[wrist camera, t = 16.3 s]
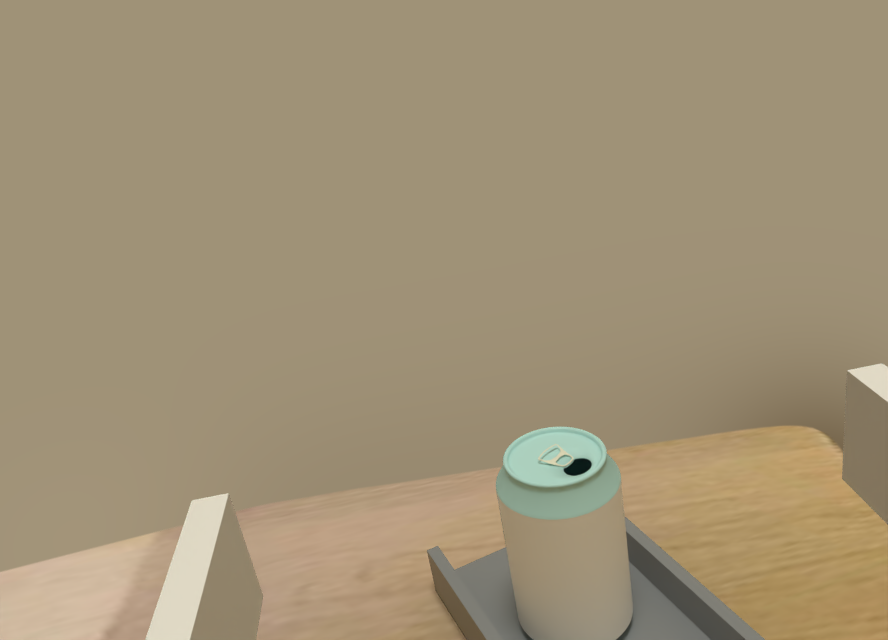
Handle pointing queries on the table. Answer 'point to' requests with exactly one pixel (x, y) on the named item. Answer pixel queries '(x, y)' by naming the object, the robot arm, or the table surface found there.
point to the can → (565, 536)
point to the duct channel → (652, 584)
